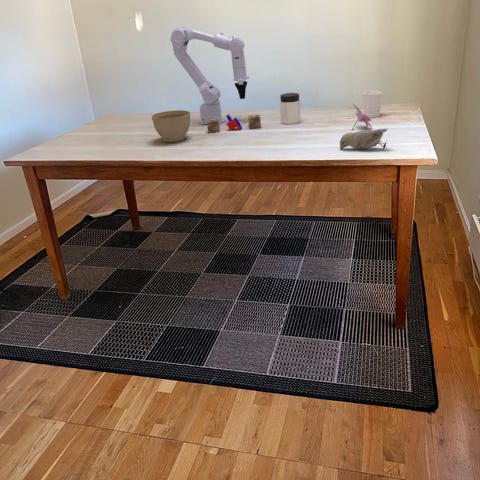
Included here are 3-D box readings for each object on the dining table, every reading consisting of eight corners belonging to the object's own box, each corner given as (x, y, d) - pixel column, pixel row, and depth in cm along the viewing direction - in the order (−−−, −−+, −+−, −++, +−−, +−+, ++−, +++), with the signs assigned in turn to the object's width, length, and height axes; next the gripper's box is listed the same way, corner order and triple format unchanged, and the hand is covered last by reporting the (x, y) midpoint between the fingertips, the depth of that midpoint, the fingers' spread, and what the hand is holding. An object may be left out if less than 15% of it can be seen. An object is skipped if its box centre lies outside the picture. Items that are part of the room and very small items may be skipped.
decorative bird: (340, 147, 180) (341, 127, 177) (387, 147, 175) (388, 126, 172) (339, 152, 175) (339, 131, 172) (386, 152, 171) (387, 130, 167)
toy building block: (234, 132, 221) (225, 116, 219) (242, 127, 219) (232, 111, 217) (232, 134, 218) (222, 118, 216) (240, 129, 216) (230, 113, 214)
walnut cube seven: (208, 133, 216) (206, 121, 214) (208, 130, 221) (207, 119, 219) (219, 132, 216) (218, 120, 214) (219, 129, 221) (218, 118, 219)
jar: (304, 121, 220) (303, 93, 215) (291, 125, 216) (290, 97, 211) (290, 119, 227) (289, 92, 222) (277, 122, 222) (275, 95, 217)
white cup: (358, 116, 220) (359, 93, 216) (373, 113, 223) (373, 90, 218) (370, 119, 214) (370, 95, 209) (384, 115, 216) (385, 92, 212)
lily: (369, 135, 194) (380, 112, 192) (341, 124, 195) (352, 101, 193) (368, 137, 205) (378, 115, 203) (341, 126, 207) (351, 104, 205)
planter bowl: (187, 144, 203) (183, 117, 198) (150, 145, 206) (145, 119, 202) (197, 134, 217) (194, 109, 212) (163, 135, 220) (159, 110, 216)
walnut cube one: (249, 129, 216) (248, 117, 214) (249, 127, 221) (248, 115, 218) (261, 128, 216) (260, 116, 214) (260, 125, 221) (259, 114, 218)
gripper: (248, 68, 214) (251, 100, 220) (247, 64, 227) (250, 94, 233) (232, 70, 214) (236, 102, 220) (232, 66, 227) (235, 96, 233)
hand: (242, 98), depth 226 cm, fingers closed
